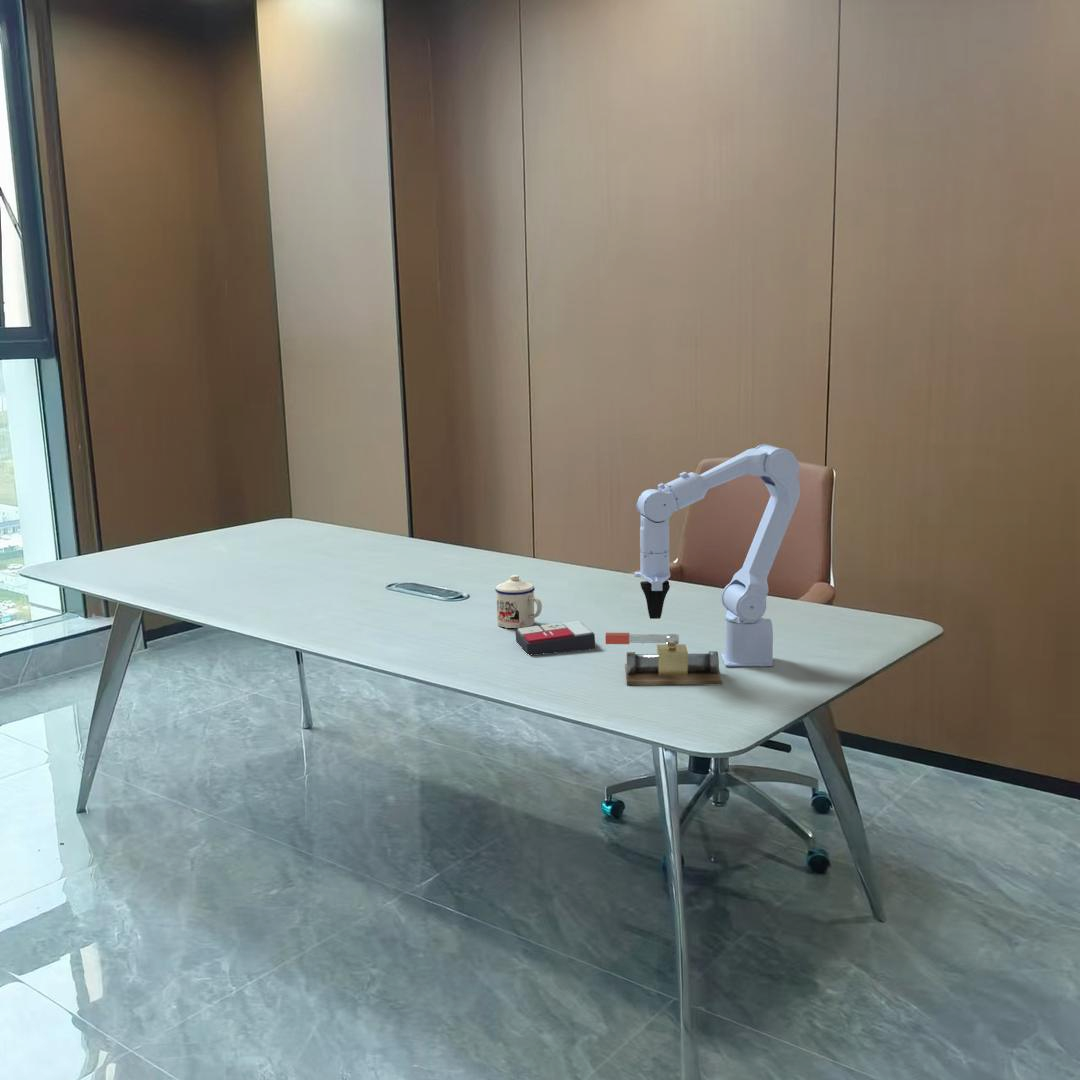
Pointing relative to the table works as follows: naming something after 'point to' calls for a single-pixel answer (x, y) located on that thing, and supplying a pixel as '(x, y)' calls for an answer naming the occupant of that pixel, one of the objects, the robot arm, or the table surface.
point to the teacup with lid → (516, 603)
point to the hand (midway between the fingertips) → (654, 617)
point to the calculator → (555, 638)
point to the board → (672, 678)
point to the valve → (672, 661)
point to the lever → (641, 638)
